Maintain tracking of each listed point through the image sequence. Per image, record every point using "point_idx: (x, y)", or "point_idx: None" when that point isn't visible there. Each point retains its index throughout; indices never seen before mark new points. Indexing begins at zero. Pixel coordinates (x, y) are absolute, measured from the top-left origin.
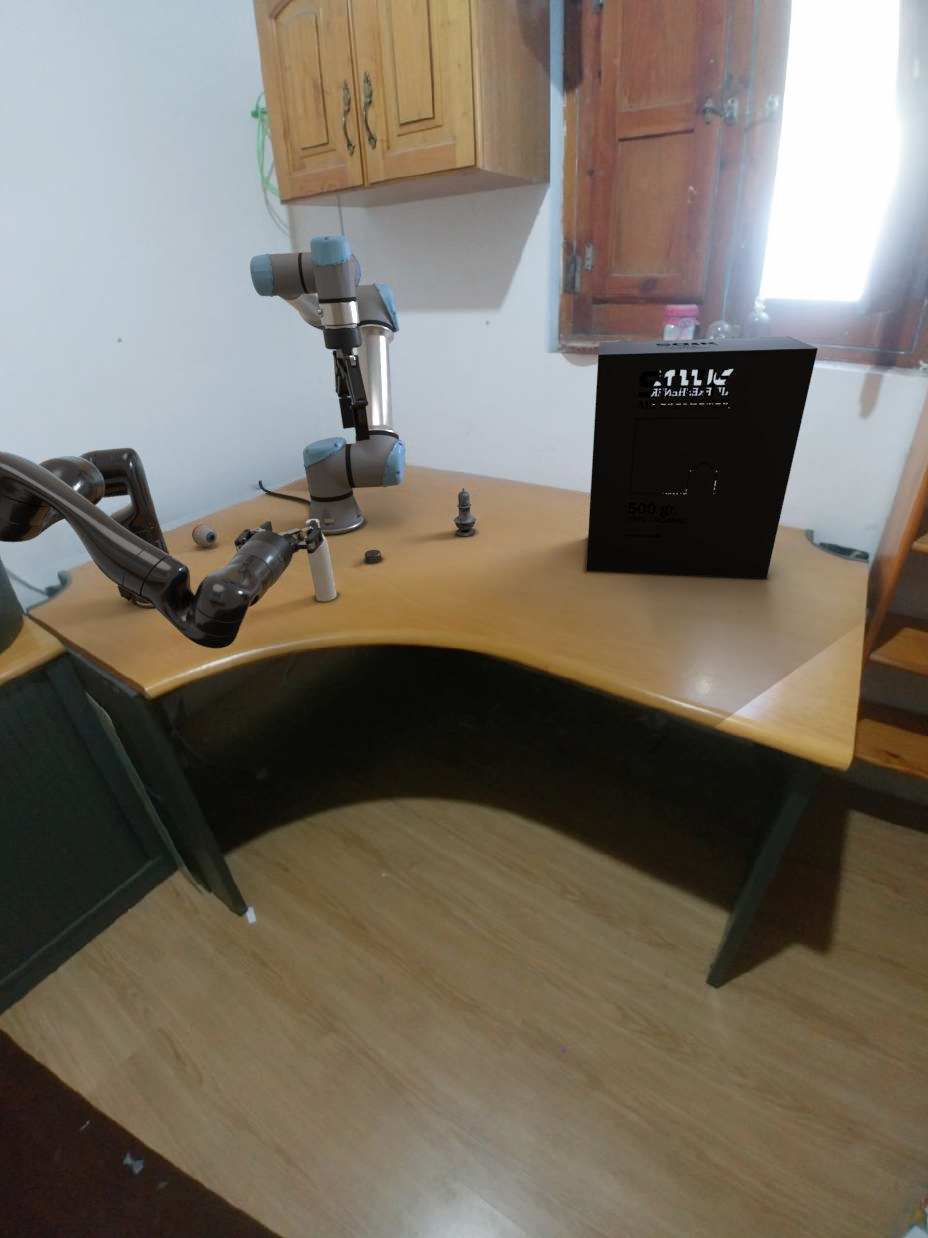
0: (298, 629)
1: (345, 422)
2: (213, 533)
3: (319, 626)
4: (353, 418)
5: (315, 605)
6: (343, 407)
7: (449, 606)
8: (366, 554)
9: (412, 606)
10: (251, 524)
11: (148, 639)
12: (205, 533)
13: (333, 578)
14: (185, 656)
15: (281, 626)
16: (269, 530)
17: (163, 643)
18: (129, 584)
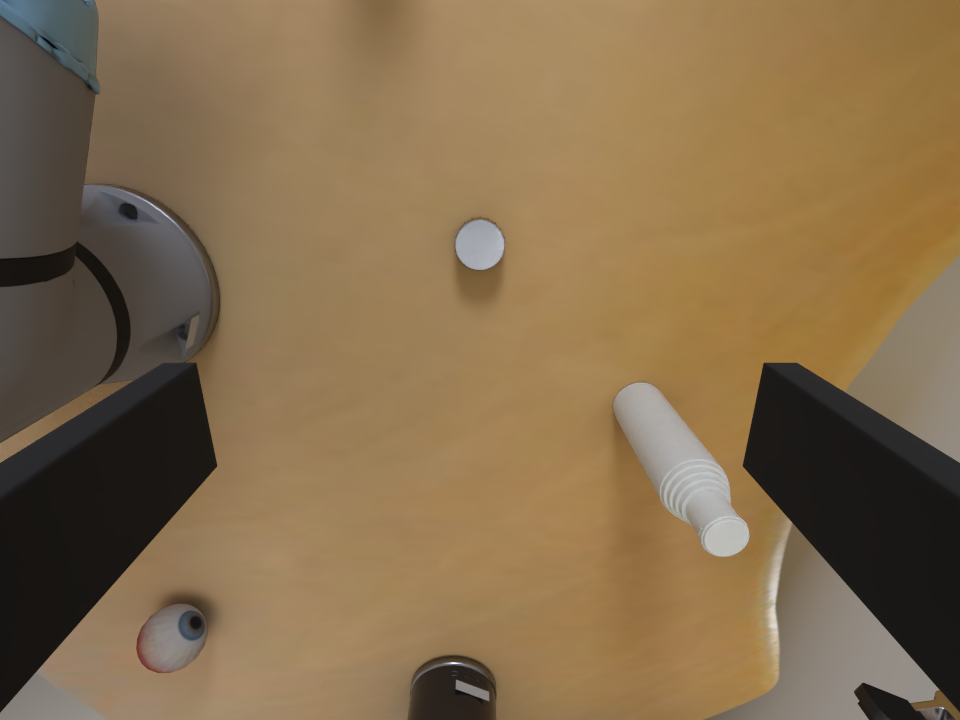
0: (751, 480)
1: (184, 475)
2: (183, 625)
3: None
4: (144, 406)
5: None
6: (72, 588)
7: (895, 124)
8: (483, 266)
9: (824, 222)
10: None
11: (618, 694)
12: (190, 645)
13: (666, 405)
14: (719, 648)
15: None
16: (888, 701)
17: (648, 676)
18: None
